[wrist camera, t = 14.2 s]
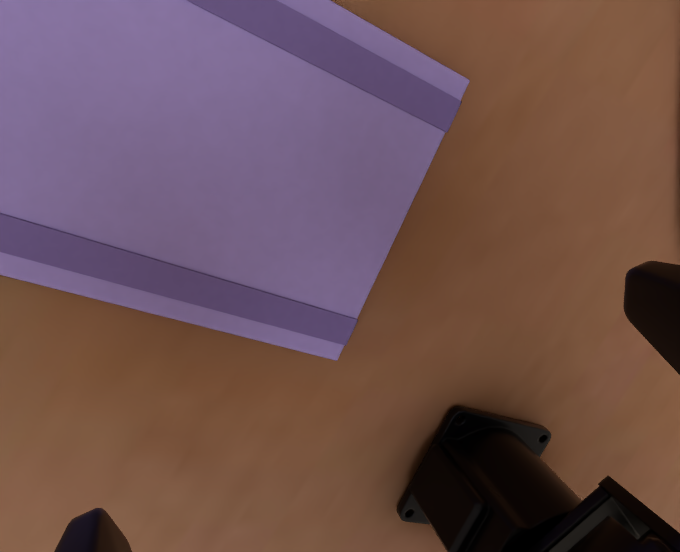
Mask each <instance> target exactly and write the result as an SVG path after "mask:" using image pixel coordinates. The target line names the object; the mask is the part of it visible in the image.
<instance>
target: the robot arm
mask: <svg viewBox="0 0 680 552" xmlns="http://www.w3.org/2000/svg"><path fill="white" fill-rule="evenodd" d="M624 312H625V314H626V316H627V318H628V320H629V321H630V322H631V323H632V324H633V325H634V327H635V328H636V329H637V330H638V331H639V332H640V333H641V334H642V335H643V336H644V337H645V338H646V339H647V340H648V342H649V343H650V344H651V345H652V346H653V347H654V348H655V349H656V350H657V351H658V352H659V353H660V354H661V355H662V356H663V358H664V359H665V360H666V361H667V362H668V363H669V364H670V365H671V366H672V367H673V368H674V369H675V370H676V371H677V373H678V374H679V375H680V265H675V264H669V263H663V262H657V261H648V262H645V263H643V264H640V265H638V266H636V267H634V268H631V269H630V270H629V271H628V272H627V274H626V278H625V292H624ZM459 416H460V417H459ZM458 417H459V418H458ZM457 418H458V419H457ZM550 438H551V433H550V432H549V431H548V430H547V429H546V428H545V427H543V426H540V425H536V424H532V423H528V422H524V421H520V420H515V419H511V418H507V417H503V416H499V415H495V414H491V413H486V412H482V411H478V410H474V409H470V408H466V407H462V406H457V407H454V408H453V409H451V410H450V411H449V413H448V414H447V416H446V418H445V420H444V422H443V424H442V426H441V427H440V429H439V431H438V433H437V435H436V437H435V439H434V440H433V442H432V444H431V446H430V448H429V450H428V452H427V453H426V455H425V457H424V459H423V461H422V463H421V465H420V466H419V468H418V470H417V472H416V474H415V476H414V478H413V479H412V481H411V483H410V485H409V487H408V489H407V491H406V492H405V494H404V496H403V498H402V500H401V502H400V504H399V505H398V508H397V513H398V514H399V516H400V518H401V519H402V520H403V521H406V522H414V523H422V524H431V526H432V528H433V529H434V531H435V532H436V534H437V536H438V537H439V539H440V541H441V542H442V544H443V545H444V547H445V549H446V550H447V552H680V533H679V532H677V531H676V530H675V529H674V528H672V527H671V526H670V525H669V524H668V523H666V522H665V521H664V520H663V519H661V518H660V517H659V516H658V515H656V514H655V513H654V512H653V511H651V510H650V509H649V508H648V507H647V506H645V505H644V504H643V503H642V502H640V501H639V500H638V499H637V498H635V497H634V496H633V495H632V494H630V493H629V492H628V491H627V490H625V489H624V488H623V487H622V486H621V485H619V484H618V483H617V482H616V481H614V480H613V479H612V478H611V477H609V476H607V477H606V478H604V479H603V480H602V481H601V482H600V483H599V484H598V485H599V487H598V488H597V489H595V490H594V491H593V492H592V493H591V494H590V495H589V496H587V497H586V498H585V499H584V500H583V501H582V500H581V499H580V498H579V497H578V496H577V495H576V494H575V493H574V492H573V491H572V490H571V489H570V488H569V487H568V486H567V485H566V484H565V483H564V482H563V481H562V480H561V479H560V478H559V477H558V476H557V475H556V474H555V473H554V472H553V471H552V470H551V469H550V468H549V467H548V465H547V464H546V463H545V462H544V461H543V460H542V459H541V458H540V456H541V454H542V452H543V451H544V449H545V447H546V446H547V444H548V442H549V441H550ZM54 552H132V551H131V548H130V545H129V543H128V541H127V539H126V537H125V536H124V535H123V533H122V532H121V531H120V529H119V528H118V527H117V525H116V524H115V523H114V521H113V520H112V519H111V517H110V516H109V515H108V513H107V512H106V511H105V510H104V509H102V508H95V509H93V510H91V511H89V512H86V513H84V514H82V515H80V516H78V517H75V518H74V519H72V520H71V522H70V523H69V524H68V526H67V528H66V530H65V532H64V534H63V536H62V538H61V540H60V542H59V544H58V545H57V547H56V549H55V551H54Z"/></svg>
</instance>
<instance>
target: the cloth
mask: <svg viewBox="0 0 680 552" xmlns="http://www.w3.org/2000/svg"><path fill="white" fill-rule="evenodd" d="M469 81H470V80H469V79H467V78H465V77H463V76H462V75H460V74H458V73H456V72H455V71H453V70H451V69H449V68H448V67H446V66H444V65H442V64H441V63H439V62H437V61H435V60H434V59H432V58H430V57H428V56H427V55H425V54H423V53H421V52H420V51H418V50H416V49H414V48H413V47H411V46H409V45H407V44H406V43H404V42H402V41H400V40H399V39H397V38H395V37H393V36H392V35H390V34H388V33H386V32H385V31H383V30H381V29H380V28H378V27H376V26H374V25H373V24H371V23H369V22H367V21H366V20H364V19H362V18H360V17H359V16H357V15H355V14H353V13H352V12H350V11H348V10H346V9H345V8H343V7H341V6H339V5H338V4H336V3H334V2H332V1H331V0H0V275H3V276H7V277H11V278H15V279H19V280H23V281H26V282H30V283H34V284H38V285H42V286H46V287H50V288H54V289H58V290H62V291H66V292H70V293H73V294H77V295H81V296H85V297H89V298H93V299H97V300H101V301H105V302H109V303H113V304H116V305H120V306H124V307H128V308H132V309H136V310H140V311H144V312H148V313H152V314H156V315H160V316H163V317H167V318H171V319H175V320H179V321H183V322H187V323H191V324H195V325H199V326H203V327H207V328H210V329H214V330H218V331H222V332H226V333H230V334H234V335H238V336H242V337H246V338H250V339H254V340H257V341H261V342H265V343H269V344H273V345H277V346H281V347H285V348H289V349H293V350H297V351H301V352H304V353H308V354H312V355H316V356H320V357H324V358H328V359H332V360H336V361H337V360H338V358H339V355H340V353H341V351H342V349H343V347H344V345H345V346H346V344H347V342H348V340H349V338H350V336H351V334H352V332H353V330H354V328H355V325H356V323H357V321H358V319H357V317H358V315H359V313H360V311H361V309H362V307H363V305H364V303H365V301H366V299H367V296H368V294H369V292H370V290H371V288H372V286H373V284H374V282H375V280H376V277H377V275H378V273H379V271H380V269H381V267H382V265H383V263H384V261H385V258H386V256H387V254H388V252H389V250H390V248H391V246H392V244H393V242H394V240H395V237H396V235H397V233H398V231H399V229H400V227H401V225H402V223H403V221H404V218H405V216H406V214H407V212H408V210H409V208H410V206H411V204H412V202H413V199H414V197H415V195H416V193H417V191H418V189H419V187H420V185H421V183H422V181H423V178H424V176H425V174H426V172H427V170H428V168H429V166H430V164H431V162H432V159H433V157H434V155H435V153H436V151H437V149H438V147H439V145H440V143H441V140H442V138H443V136H444V134H445V132H448V130H449V128H450V126H451V124H452V121H453V119H454V117H455V115H456V113H457V111H458V109H459V107H460V105H461V102H462V101H460V100H461V98H462V96H463V94H464V92H465V90H466V88H467V86H468V84H469Z"/></svg>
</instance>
